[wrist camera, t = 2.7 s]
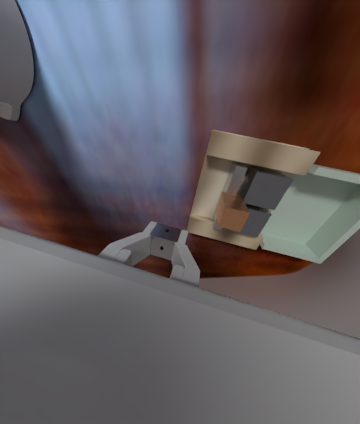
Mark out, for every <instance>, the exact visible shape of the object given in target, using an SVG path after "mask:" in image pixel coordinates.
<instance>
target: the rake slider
mask: <svg viewBox="0 0 360 424" xmlns="http://www.w3.org/2000/svg"><path fill="white" fill-rule="evenodd" d="M246 170H247V168H246V167H245V166H244V165H243V164H240V163H235V162H232V165H231V168H230V171H229V173H228V176H227V179H226V182H225V185H224V187H223V190H222V192H221V195H220V197H219V200H218V203H217V206H216V210H215V212H214V215H213V218H212V220H213V228H214V229H218V230H221V229H222V228H226V229H230V230H234V231H238V232H241V230H242V228H243V226H244V224H245V222H246V220H247V218H248V216H249V214H250V212H249V210H248V208H247V206H246V204H245V202H244V201H243V199H242V197H241V196H239V195H236V194H237V191H238V189H239V187H240V184H241V182H242V180H243V177H244V175H245V172H246Z"/></svg>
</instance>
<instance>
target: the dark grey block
mask: <svg viewBox="0 0 360 424" xmlns="http://www.w3.org/2000/svg"><path fill="white" fill-rule="evenodd" d="M293 180H294V179H292V178H290V177H288V176H286V175H284V174H282V173H278V172H273V171H268V170H264V169H259V168H254V167H249V170H248V172H247V174H246V177H245V179H244V181H243V184H242V186H241V188H240V191H239V193H238V195H239V196H241V197H242V199H243V201H244V202H245V204H250V205H254V206H258V207H262V208H267V209H271V210H275V209H276V207H277V205H278V204H279V202H280V201H281V199H282V197H283V196H284V194H285V193H286V191H287V189H288V188H289V186H290V185H291V183H292V181H293Z"/></svg>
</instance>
